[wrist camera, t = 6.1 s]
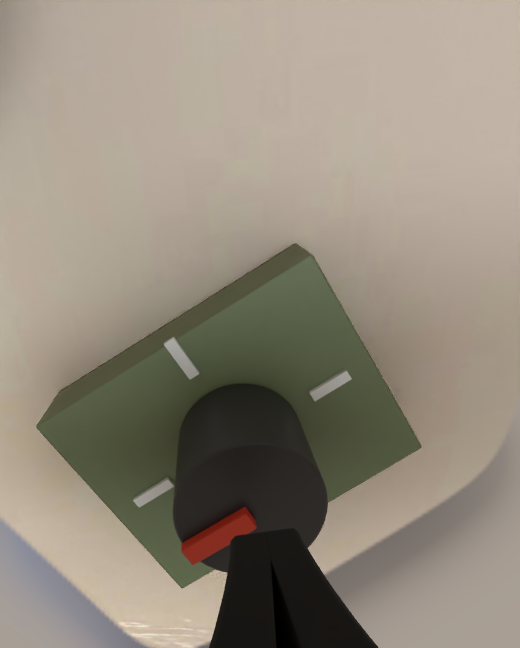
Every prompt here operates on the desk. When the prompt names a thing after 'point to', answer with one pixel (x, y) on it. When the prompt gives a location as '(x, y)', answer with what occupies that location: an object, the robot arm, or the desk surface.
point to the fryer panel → (222, 370)
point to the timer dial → (243, 473)
